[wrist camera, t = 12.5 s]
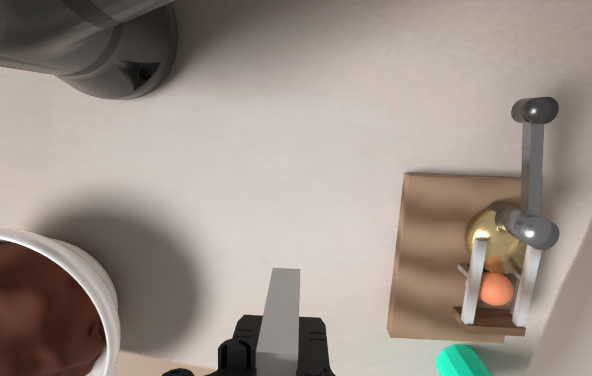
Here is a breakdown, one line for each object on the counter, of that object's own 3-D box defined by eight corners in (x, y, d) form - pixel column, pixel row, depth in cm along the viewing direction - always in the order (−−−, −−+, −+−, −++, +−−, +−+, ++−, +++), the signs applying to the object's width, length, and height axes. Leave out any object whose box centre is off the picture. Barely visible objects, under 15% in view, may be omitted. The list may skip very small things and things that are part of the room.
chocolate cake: (136, 202, 43) (48, 247, 28) (163, 366, 48) (101, 477, 33) (-49, 210, 44) (-228, 259, 29) (-2, 371, 49) (-134, 481, 34)
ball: (471, 264, 41) (488, 280, 37) (503, 266, 41) (524, 282, 37) (466, 293, 42) (483, 311, 38) (497, 295, 42) (517, 313, 38)
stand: (404, 172, 41) (421, 182, 35) (525, 178, 41) (562, 188, 35) (386, 328, 46) (398, 359, 40) (494, 333, 46) (522, 365, 40)
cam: (580, 119, 37) (650, 120, 30) (516, 272, 41) (564, 307, 34) (492, 98, 37) (541, 93, 29) (437, 254, 41) (467, 285, 33)
